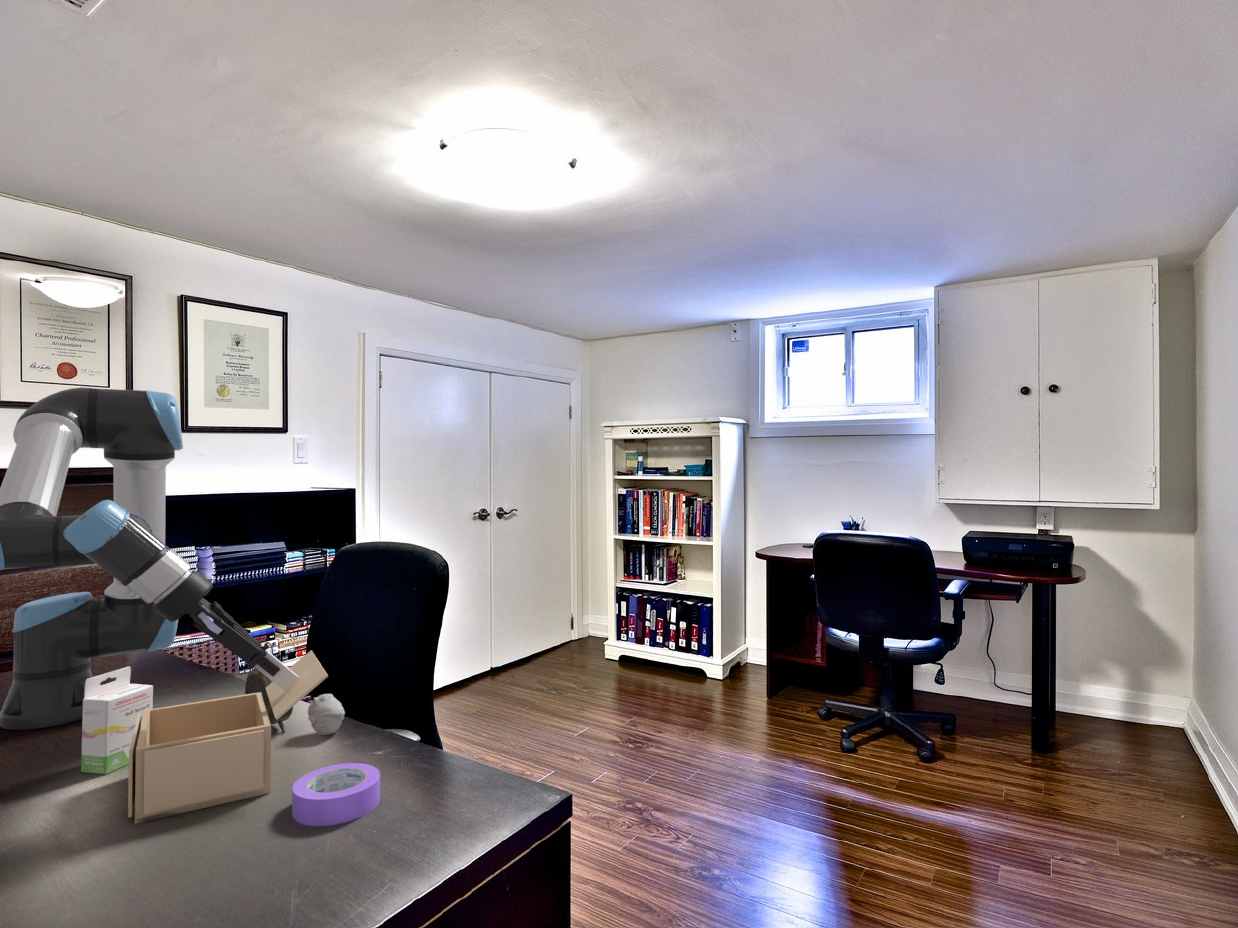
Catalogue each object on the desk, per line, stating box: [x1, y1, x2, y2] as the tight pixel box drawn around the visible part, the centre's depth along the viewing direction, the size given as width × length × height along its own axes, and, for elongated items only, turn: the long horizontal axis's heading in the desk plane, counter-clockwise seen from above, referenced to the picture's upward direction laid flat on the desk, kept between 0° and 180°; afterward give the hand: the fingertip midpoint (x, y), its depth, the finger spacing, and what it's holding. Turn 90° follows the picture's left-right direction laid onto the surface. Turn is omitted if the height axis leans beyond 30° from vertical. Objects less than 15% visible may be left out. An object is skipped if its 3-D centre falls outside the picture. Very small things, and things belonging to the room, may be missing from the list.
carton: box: [127, 692, 272, 824], centre depth 102 cm, size 20×17×10 cm
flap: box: [266, 650, 329, 720], centre depth 109 cm, size 17×1×9 cm
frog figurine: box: [307, 693, 346, 736], centre depth 122 cm, size 6×7×7 cm
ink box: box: [80, 666, 154, 775], centre depth 110 cm, size 9×5×15 cm, turn 168°
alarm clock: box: [244, 641, 294, 734], centre depth 124 cm, size 11×5×16 cm, turn 52°
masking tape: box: [291, 762, 381, 827], centre depth 96 cm, size 12×12×4 cm
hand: (291, 683), depth 108 cm, fingers closed
